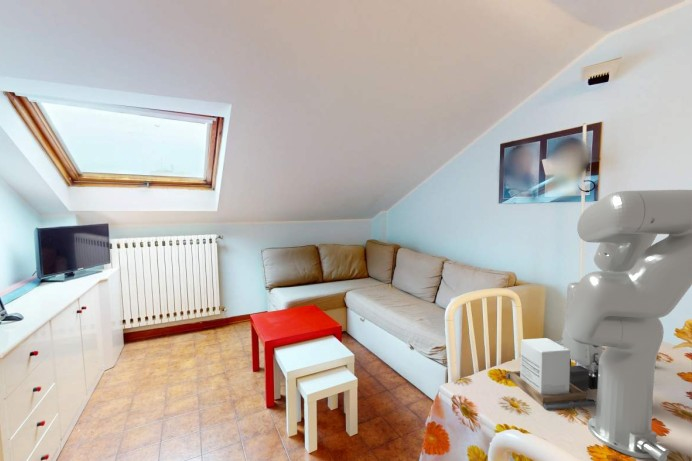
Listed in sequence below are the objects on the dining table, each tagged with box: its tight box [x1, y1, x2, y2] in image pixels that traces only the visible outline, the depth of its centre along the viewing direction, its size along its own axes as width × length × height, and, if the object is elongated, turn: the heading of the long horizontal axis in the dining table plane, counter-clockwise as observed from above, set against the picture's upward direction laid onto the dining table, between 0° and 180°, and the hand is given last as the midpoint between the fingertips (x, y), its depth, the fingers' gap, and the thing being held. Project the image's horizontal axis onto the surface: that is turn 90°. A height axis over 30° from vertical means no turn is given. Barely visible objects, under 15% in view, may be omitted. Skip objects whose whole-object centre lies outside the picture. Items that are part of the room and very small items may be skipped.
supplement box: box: [519, 337, 571, 396], centre depth 89 cm, size 9×9×15 cm
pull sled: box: [509, 365, 590, 407], centre depth 91 cm, size 14×20×6 cm
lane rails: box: [505, 372, 597, 411], centre depth 90 cm, size 17×15×2 cm
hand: (578, 379), depth 92 cm, fingers open, 9 cm apart
